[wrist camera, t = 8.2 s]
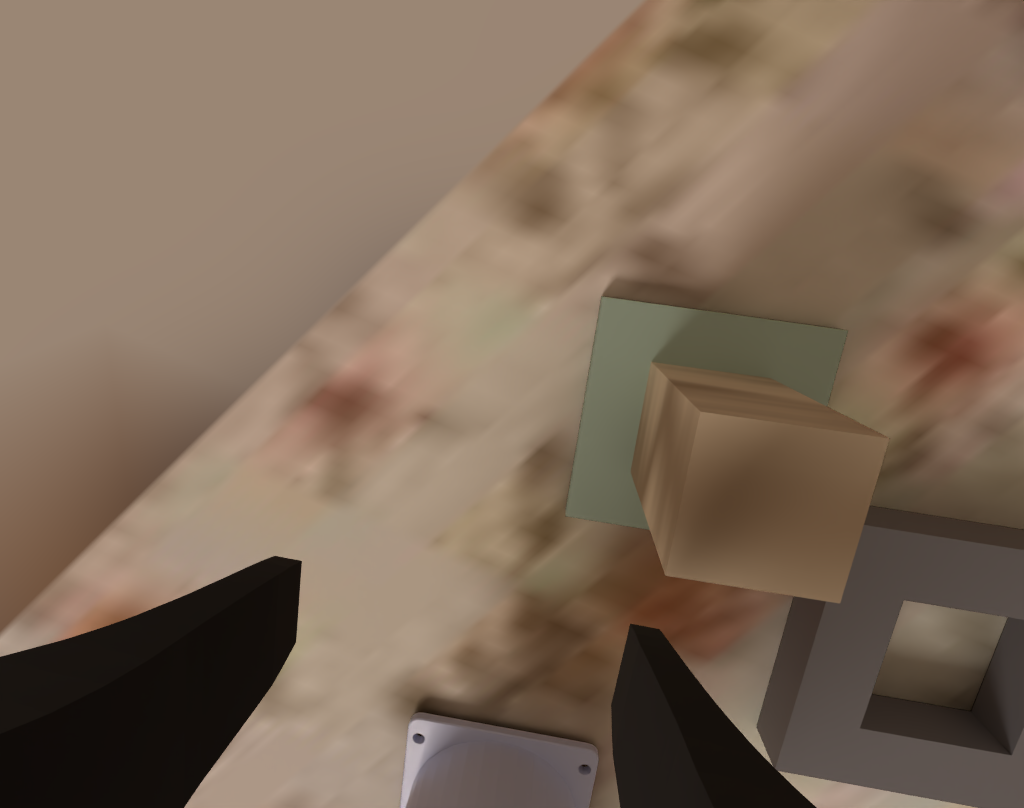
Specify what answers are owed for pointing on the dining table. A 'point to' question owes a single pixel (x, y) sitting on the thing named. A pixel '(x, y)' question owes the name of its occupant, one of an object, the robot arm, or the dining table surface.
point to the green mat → (684, 342)
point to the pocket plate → (860, 652)
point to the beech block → (752, 482)
